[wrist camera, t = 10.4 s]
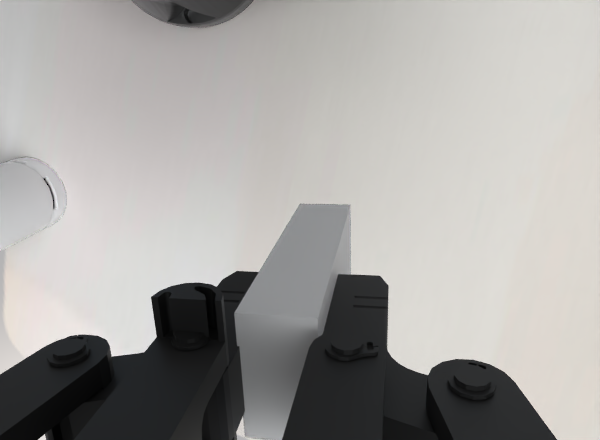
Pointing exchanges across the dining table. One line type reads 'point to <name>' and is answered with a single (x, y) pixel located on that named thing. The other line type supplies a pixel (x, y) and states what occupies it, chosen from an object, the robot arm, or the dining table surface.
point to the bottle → (28, 199)
